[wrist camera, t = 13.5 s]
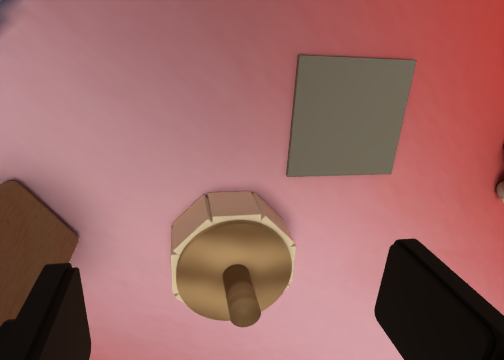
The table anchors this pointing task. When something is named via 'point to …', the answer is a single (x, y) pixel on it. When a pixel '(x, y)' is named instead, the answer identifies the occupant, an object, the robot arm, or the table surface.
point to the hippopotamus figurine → (501, 190)
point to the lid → (233, 271)
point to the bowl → (222, 210)
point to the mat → (347, 115)
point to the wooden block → (27, 245)
